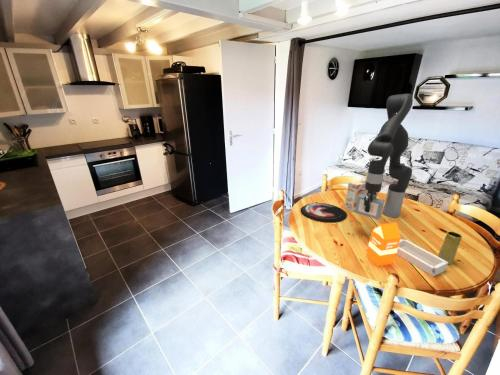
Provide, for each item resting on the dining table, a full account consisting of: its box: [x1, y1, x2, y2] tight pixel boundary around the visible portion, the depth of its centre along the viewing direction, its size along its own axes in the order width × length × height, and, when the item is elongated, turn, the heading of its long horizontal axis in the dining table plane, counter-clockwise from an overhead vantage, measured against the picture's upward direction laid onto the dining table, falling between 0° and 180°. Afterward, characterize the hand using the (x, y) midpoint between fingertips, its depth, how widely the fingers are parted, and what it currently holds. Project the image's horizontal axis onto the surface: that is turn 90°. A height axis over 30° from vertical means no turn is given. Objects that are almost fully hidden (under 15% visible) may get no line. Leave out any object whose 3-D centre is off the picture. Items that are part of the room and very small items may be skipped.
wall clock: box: [300, 202, 348, 223], centre depth 154 cm, size 27×5×30 cm
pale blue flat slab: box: [354, 194, 385, 221], centre depth 124 cm, size 4×12×10 cm, turn 46°
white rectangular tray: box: [396, 238, 449, 277], centre depth 109 cm, size 9×20×4 cm, turn 25°
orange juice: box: [365, 221, 402, 267], centre depth 106 cm, size 8×9×20 cm
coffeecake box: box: [343, 178, 368, 213], centre depth 157 cm, size 15×7×20 cm, turn 120°
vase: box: [437, 231, 463, 265], centre depth 107 cm, size 6×6×14 cm
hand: (368, 210), depth 125 cm, fingers closed on pale blue flat slab, 4 cm apart
